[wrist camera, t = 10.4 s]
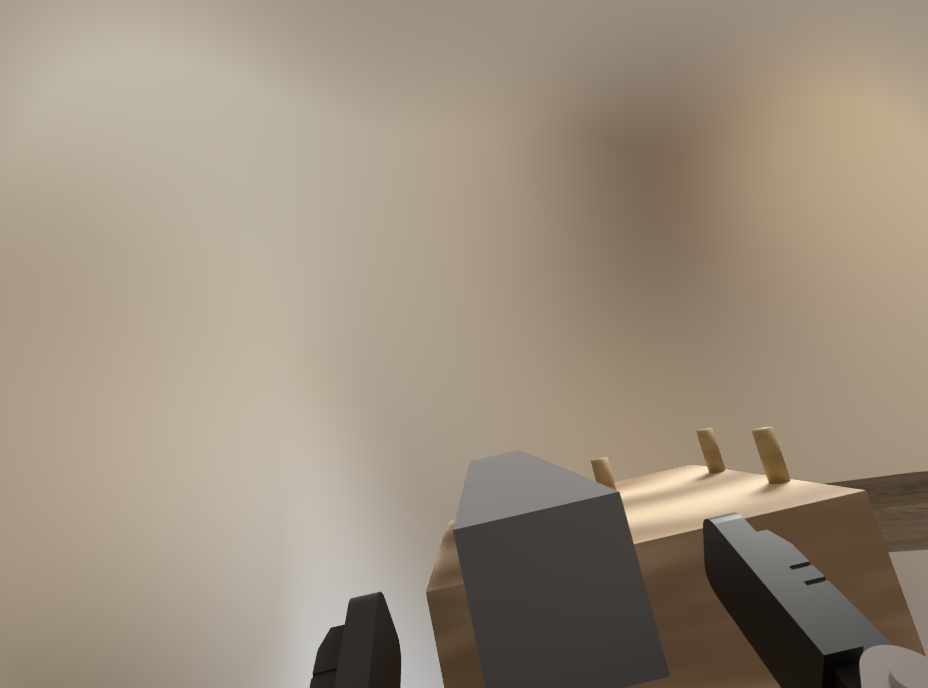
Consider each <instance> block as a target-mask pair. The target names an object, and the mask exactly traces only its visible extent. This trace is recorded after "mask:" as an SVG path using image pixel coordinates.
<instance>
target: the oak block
mask: <svg viewBox="0 0 928 688" xmlns="http://www.w3.org/2000/svg"><path fill="white" fill-rule="evenodd" d="M696 432H697V435H698V439H699V442H700V445H701V448H702V452H703V455H704V458H705V461H706V464H707V467H705V466H698V465H688V466H684V467H680V468H675V469H671V470H667V471H663V472H658V473H654V474H649V475H645V476H640V477H637V478H632V479H628V480H623V481H619V482H614V479H613V475H612V472H611V468H610V464H609V461H608V458H607V457H604V458H598V459H594V460H591V463H592V467H593V471H594V475H595V478H596V482H598V483H600V484H603V485H605V486H607V487H610V488H612V489H615V490H617V491H619V492H620V495H621V499H622V502H623V506H624V510H625V513H626V517H627V521H628V524H629V528H630V532H631V535H632V539H633V543H634V546H635V550H636V554H637V557H638V561H639V565H640V568H641V572H642V576H643V579H644V583H645V587H646V590H647V594H648V598H649V601H650V605H651V609H652V612H653V616H654V620H655V623H656V627H657V631H658V634H659V638H660V642H661V645H662V649H663V653H664V656H665V660H666V664H667V667H668V671H669V675H670V677H667V678H663V679H658V680H654V681H650V682H646V683H641V684H637V685H633V686H629V687H624V688H781V687H780V686H779V684H778V683H777V681H776V680H775V679H774V677H773V676H772V674H771V673H770V671H769V670H768V669H767V667H766V666H765V664H764V663H763V661H762V660H761V659H760V657H759V656H758V654H757V653H756V651H755V650H754V649H753V647H752V646H751V644H750V643H749V641H748V640H747V639H746V637H745V636H744V634H743V633H742V632H741V630H740V629H739V627H738V626H737V624H736V623H735V622H734V620H733V619H732V617H731V616H730V614H729V613H728V612H727V610H726V609H725V607H724V606H723V604H722V603H721V602H720V600H719V599H718V597H717V596H716V594H715V593H714V591H713V589H712V587H711V585H710V583H709V581H708V578H707V575H706V571H705V565H704V542H703V521H704V520H705V519H708V518H712V517H716V516H721V515H725V514H730V513H734V512H735V513H738V514H740V515H741V516H742V517H743V518H744V519H745V520H746V521H747V522H748V523H749V524H750V525H751V526H752V528H753V529H754V530H755V531H756V532H758V531H763V530H769V531H771V532H772V533H774V534H776V535H778V536H779V537H781V538H783V539H785V540H786V541H788V542H790V543H792V544H793V545H794V546H795V547H796V548H797V549H798V550H799V551H800V552H801V553H802V554H803V555H804V556H805V557H806V558H807V559H808V560H809V561H810V564H811V565H814V566H815V567H816V568H817V569H818V570H819V571H820V572H821V573H822V574H823V575H824V576H825V579H826V580H827V581H830V582H831V583H832V584H833V585H834V586H835V587H836V588H837V589H838V590H839V591H840V592H841V593H842V594H843V595H844V596H845V597H846V598H847V599H848V600H849V601H850V602H851V603H852V604H853V605H854V606H855V607H856V608H857V609H858V610H859V611H860V612H861V613H862V614H863V615H864V616H865V617H866V618H867V619H868V620H869V621H870V622H871V623H872V624H873V625H874V626H875V627H876V628H877V629H878V630H879V631H880V632H881V633H882V634H883V635H884V636H885V637H886V638H887V639H888V640H889V641H890V642H891V643H893V644H894V645H895V646H899V647H903V648H906V649H909V650H912V651H915V652H917V653H919V654H921V655H923V656H925V657H926V655H925V653H924V650H923V647H922V644H921V641H920V639H919V636H918V633H917V631H916V628H915V625H914V622H913V619H912V617H911V614H910V611H909V608H908V606H907V603H906V600H905V597H904V595H903V592H902V589H901V586H900V584H899V581H898V578H897V575H896V573H895V571H894V567H893V564H892V562H891V559H890V556H889V553H888V551H887V548H886V545H885V542H884V540H883V537H882V534H881V531H880V529H879V526H878V523H877V520H876V518H875V515H874V512H873V509H872V507H871V504H870V501H869V498H868V496H867V493H866V490H860V489H853V488H846V487H839V486H833V485H826V484H819V483H812V482H806V481H798V480H792V479H790V477H789V474H788V471H787V468H786V465H785V462H784V459H783V456H782V453H781V450H780V447H779V444H778V441H777V438H776V435H775V432H774V429H773V427H763V428H758V429H754V430H752V434H753V437H754V439H755V443H756V446H757V449H758V452H759V455H760V458H761V461H762V464H763V467H764V470H765V473H766V476H765V475H759V474H752V473H744V472H738V471H732V470H725V467H724V464H723V461H722V458H721V454H720V451H719V448H718V445H717V441H716V438H715V435H714V432H713V429H712V428H706V429H701V430H697V431H696ZM454 523H455V519H454V520H449V522H448V525H447V528H446V531H445V535H444V538H443V541H442V544H441V547H440V551H439V553H438V556H437V560H436V563H435V566H434V569H433V572H432V575H431V578H430V581H429V585H428V588H427V591H426V594H427V600H428V605H429V610H430V615H431V621H432V626H433V631H434V636H435V641H436V646H437V652H438V657H439V662H440V666H441V672H442V677H443V682H444V688H486V687H485V682H484V677H483V672H482V668H481V663H480V658H479V653H478V648H477V644H476V639H475V634H474V629H473V624H472V620H471V615H470V610H469V605H468V600H467V595H466V591H465V586H464V581H463V576H462V571H461V567H460V562H459V557H458V552H457V547H456V543H455V538H454V533H453V527H454Z"/></svg>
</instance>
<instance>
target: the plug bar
mask: <svg viewBox="0 0 928 688" xmlns="http://www.w3.org/2000/svg"><path fill="white" fill-rule="evenodd" d="M453 533H454V538H455V543H456V547H457V552H458V557H459V562H460V567H461V571H462V576H463V581H464V586H465V591H466V595H467V600H468V605H469V610H470V615H471V620H472V624H473V629H474V634H475V639H476V644H477V648H478V653H479V658H480V663H481V668H482V672H483V677H484V682H485V687H486V688H624V687H629V686H633V685H637V684H641V683H646V682H650V681H654V680H658V679H663V678H667V677H670V675H669V671H668V667H667V664H666V660H665V656H664V653H663V649H662V645H661V642H660V638H659V634H658V631H657V627H656V623H655V620H654V616H653V612H652V609H651V605H650V601H649V598H648V594H647V590H646V587H645V583H644V579H643V576H642V572H641V568H640V565H639V561H638V557H637V554H636V550H635V546H634V543H633V539H632V535H631V532H630V528H629V524H628V521H627V517H626V513H625V510H624V506H623V502H622V499H621V495H620V492H619V491H617V490H615V489H612V488H610V487H607V486H605V485H603V484H600V483H598V482H595V481H593V480H590V479H588V478H586V477H583V476H581V475H578V474H576V473H573V472H571V471H569V470H566V469H564V468H561V467H559V466H557V465H554V464H552V463H549V462H547V461H545V460H542V459H539V458H537V457H535V456H532V455H530V454H528V453H525V452H523V451H520V450H518V451H513V452H509V453H504V454H500V455H496V456H492V457H487V458H483V459H478V460H474V461H470V463H469V467H468V472H467V476H466V480H465V484H464V488H463V492H462V495H461V499H460V503H459V507H458V512H457V515H456V519H455V523H454V527H453Z"/></svg>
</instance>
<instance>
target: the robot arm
mask: <svg viewBox="0 0 928 688" xmlns="http://www.w3.org/2000/svg"><path fill="white" fill-rule="evenodd" d="M703 542H704V565H705V571H706V575H707V578H708V581H709V583H710V585H711V587H712V589H713V591H714V593H715V594H716V596H717V597H718V599H719V600H720V602H721V603H722V604H723V606H724V607H725V609H726V610H727V612H728V613H729V614H730V616H731V617H732V619H733V620H734V622H735V623H736V624H737V626H738V627H739V629H740V630H741V632H742V633H743V634H744V636H745V637H746V639H747V640H748V641H749V643H750V644H751V646H752V647H753V649H754V650H755V651H756V653H757V654H758V656H759V657H760V659H761V660H762V661H763V663H764V664H765V666H766V667H767V669H768V670H769V671H770V673H771V674H772V676H773V677H774V679H775V680H776V681H777V683H778V684H779V686H780V687H781V688H928V658H927V657H925V656H923V655H921V654H919V653H917V652H915V651H912V650H909V649H906V648H903V647H899V646H895V645H894V644H893V643H891V642H890V641H889V640H888V639H887V638H886V637H885V636H884V635H883V634H882V633H881V632H880V631H879V630H878V629H877V628H876V627H875V626H874V625H873V624H872V623H871V622H870V621H869V620H868V619H867V618H866V617H865V616H864V615H863V614H862V613H861V612H860V611H859V610H858V609H857V608H856V607H855V606H854V605H853V604H852V603H851V602H850V601H849V600H848V599H847V598H846V597H845V596H844V595H843V594H842V593H841V592H840V591H839V590H838V589H837V588H836V587H835V586H834V585H833V584H832V583H831V582H830V581H827V580H826V579H825V576H824V575H823V574H822V573H821V572H820V571H819V570H818V569H817V568H816V567H815V566H814V565H811V564H810V561H809V560H808V559H807V558H806V557H805V556H804V555H803V554H802V553H801V552H800V551H799V550H798V549H797V548H796V547H795V546H794V545H793V544H792V543H790V542H788V541H786V540H785V539H783V538H781V537H779V536H778V535H776V534H774V533H772V532H771V531H769V530H763V531H758V532H756V531H755V530H754V529H753V528H752V526H751V525H750V524H749V523H748V522H747V521H746V520H745V519H744V518H743V517H742V516H741V515H740V514H738V513H735V512H734V513H730V514H725V515H721V516H716V517H712V518H708V519H705V520H704V521H703ZM400 682H401V652H400V644H399V639H398V635H397V633H396V629H395V627H394V624H393V621H392V618H391V615H390V612H389V609H388V606H387V603H386V601H385V598H384V595H383V594H382V592H377V593H373V594H369V595H364V596H360V597H356V598H351V599H350V601H349V604H348V610H347V615H346V621H345V625H341V626H337V627H332V628H330V630H329V632H328V633H327V635H326V637H325V639H324V640H323V642H322V644H321V645H320V647H319V649H318V652H317V656H316V661H315V665H314V670H313V678H312V679H311V683H310V688H400Z"/></svg>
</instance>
